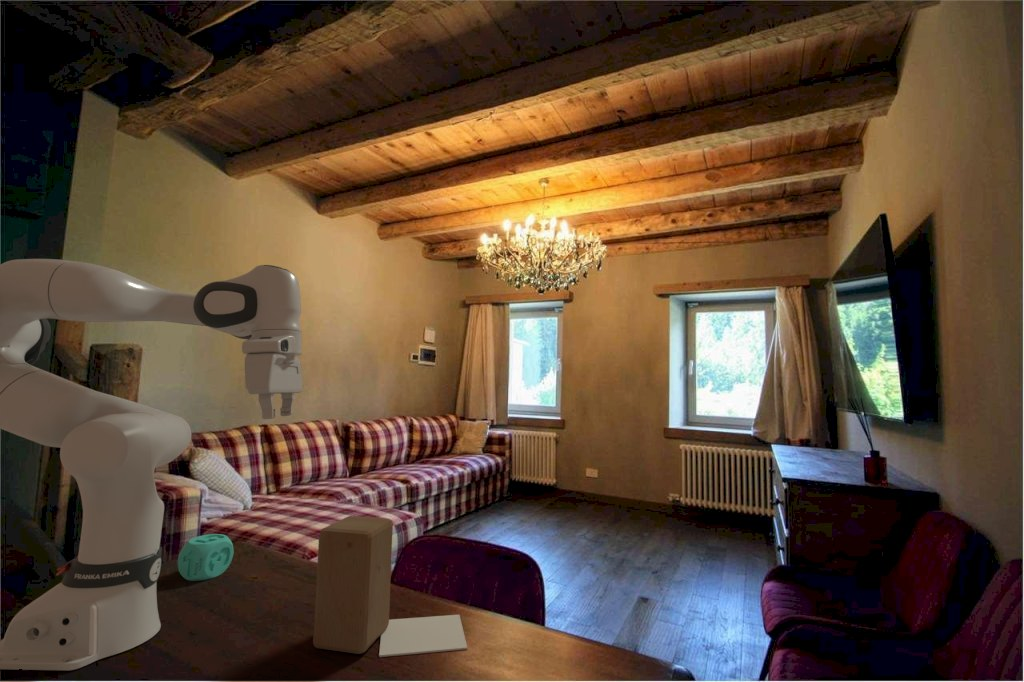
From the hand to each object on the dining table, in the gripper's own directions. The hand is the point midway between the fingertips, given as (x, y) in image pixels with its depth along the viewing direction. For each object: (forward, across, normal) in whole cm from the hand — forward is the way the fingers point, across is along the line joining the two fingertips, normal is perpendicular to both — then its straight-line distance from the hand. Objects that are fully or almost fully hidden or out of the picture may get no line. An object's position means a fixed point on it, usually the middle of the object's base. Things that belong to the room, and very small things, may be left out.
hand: (277, 417), depth 88 cm
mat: (+42, +5, +26) cm, 49 cm away
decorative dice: (+37, -26, -26) cm, 52 cm away
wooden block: (+40, +5, +14) cm, 43 cm away
